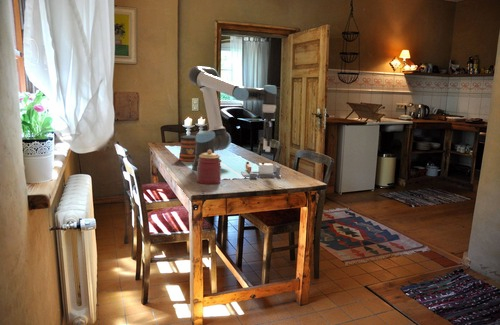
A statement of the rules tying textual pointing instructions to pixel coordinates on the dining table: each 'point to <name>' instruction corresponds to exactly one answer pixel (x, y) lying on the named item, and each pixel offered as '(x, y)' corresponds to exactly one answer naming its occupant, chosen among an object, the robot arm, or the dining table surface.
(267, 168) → the lock block
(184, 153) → the beer stein
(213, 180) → the canister
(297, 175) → the dining table surface
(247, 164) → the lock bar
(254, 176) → the coupler rail
